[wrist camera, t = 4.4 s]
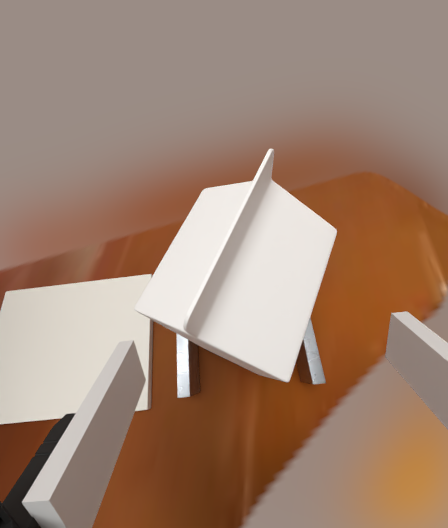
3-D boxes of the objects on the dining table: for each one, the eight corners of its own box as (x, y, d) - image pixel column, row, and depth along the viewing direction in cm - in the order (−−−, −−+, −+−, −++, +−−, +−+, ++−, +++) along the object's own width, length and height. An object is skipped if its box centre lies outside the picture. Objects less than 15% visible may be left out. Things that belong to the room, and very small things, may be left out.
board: (-22, 425, 25) (-33, 427, 24) (13, 293, 31) (5, 291, 30) (151, 408, 24) (147, 409, 23) (154, 277, 30) (151, 274, 29)
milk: (207, 350, 26) (70, 280, 6) (229, 299, 28) (183, 120, 8) (261, 376, 25) (314, 396, 5) (281, 320, 27) (378, 165, 7)
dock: (190, 392, 25) (177, 397, 20) (186, 288, 29) (175, 273, 25) (310, 380, 24) (325, 382, 20) (288, 276, 29) (296, 258, 24)
